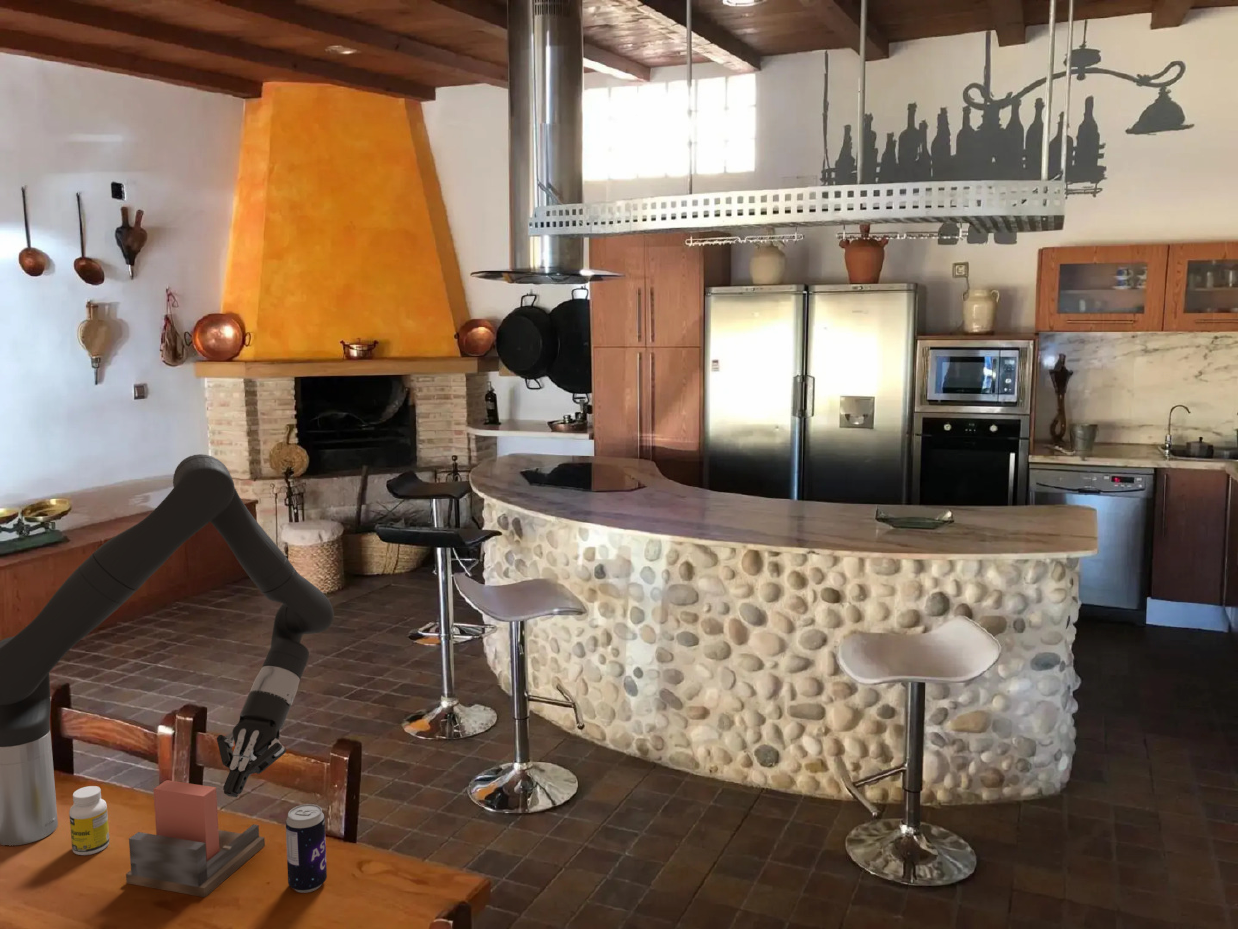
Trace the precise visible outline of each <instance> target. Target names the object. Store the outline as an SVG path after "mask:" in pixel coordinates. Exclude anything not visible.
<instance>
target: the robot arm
mask: <svg viewBox="0 0 1238 929" xmlns="http://www.w3.org/2000/svg"><path fill="white" fill-rule="evenodd" d="M172 479H173V480H172V484H173V485H172V486H173V489H172V490H170V492H169V493H168V494H167V496H166V497H165V498H164V499H163V500H162V501H161V502H160V503H159V504H158V505H157V506H156V507H155V509H153V510H152V512H151V513H149V515H147V516H146V517H144V519H142V520H141V521H140V522H138V523H136V524H134V525H133V526H131V527H129V528H127V529H126V530H124V531H122V532H120V533H118V534H117V535H115V536H114V537H112V538H110V539H109V540H108V541H106V542H105V543H103V544H102V545H101V546H99V547H98V548H97V549H96V550H94V552H92V554H91V555H90V556H89V557H88V558H87V559H85V560H84V561H83V563H81V564H80V565H79V566H78V567H76V569H75V570H74V571H73V572H72V573H71V574H70V575H69V577H67V579H66V580H65V581H64V582H63V583H62V584H61V586H59V588H58V589H57V591H56V592H55V593H54V594H53V596H52V597H51V598H50V599H49V600H48V602H47V603H46V605H45V606H44V607H43V608H42V610H41V611H40V612H39V613H38V615H36V617H35V618H34V619H33V620H31V622H30V623H29V624H27V625H26V626H25V627H24V628H23V629H22V630H20V632H18V633H17V634H16V635H14V636H11V637H10V636H9V637H6V638H3V639H2V640H0V844H1V845H0V846H5V845H9V846H11V845H12V846H13V845H14V846H21V845H27V844H31V843H34V842H38V841H39V840H42V839H45V837H48V836H50V835H51V834H53V833H54V831H56V829H57V828H58V826H59V825H58V823H59V822H58V821H59V820H58V809H57V798H56V797H57V795H56V786H55V784H56V783H55V772H54V760H53V748H52V735H51V720H50V717H51V707H52V702H51V701H52V698H51V697H52V695H51V680H50V672H51V671H52V670H53V669H54V667H55V666H56V665H57V664H58V663H59V662H60V661H61V659H62V658H63V657H64V656H65V655H66V654H67V653H68V652H69V651H70V650H71V649H72V648H73V647H74V646H75V645H76V644H78V642H80V641H81V640H82V639H84V638H85V637H86V636H87V635H89V634H90V633H91V632H92V631H94V629H96V628H97V627H99V626H100V625H101V624H102V623H103V622H104V621H105V620H107V619H108V618H109V617H110V616H111V615H112V614H113V613H115V611H117V610H118V609H119V608H120V607H121V606H122V605H123V604H124V603H126V602H127V601H128V600H129V599H130V598H131V597H132V596H133V595H134V594H135V593H136V592H138V590H139V589H140V588H141V587H142V586H143V585H144V584H145V583H146V582H147V581H148V579H150V578H151V576H152V575H154V573H155V572H157V571H158V570H159V569H160V568H161V567H162V566H163V565H164V564H165V563H166V561H168V560H169V558H170V557H171V556H172V555H173V554H174V553H175V552H176V551H177V550H178V549H179V548H180V547H181V546H182V545H183V544H184V543H186V542H187V541H188V540H189V539H190V538H191V537H192V536H194V535H195V534H196V533H198V532H199V531H200V530H201V529H203V528H204V527H205V526H207V525H208V523H211V525H213V527H214V528H215V529H216V531H217V532H218V533H219V535H221V537H222V539H223V540H224V542H226V544H227V545H228V547H229V549H230V551H232V554H233V555H234V557H235V558H236V560H237V561H238V563H239V564H240V566H241V567H242V569H243V570H244V571H245V573H246V575H247V576H248V577H249V578H250V580H251V581H252V582H253V584H255V586H256V587H257V588H258V589H259V591H260V592H261V593H262V595H263V596H264V597H265V598H266V599H267V600H269V601H270V602H276V603H279V604H281V606H279V608H278V609H277V611H276V613H275V617H274V622H273V627H272V635H271V641H270V648H269V650H268V652H267V654H266V657H265V659H264V661H263V664H262V666H261V668H260V671H259V672H258V673H257V675H256V677H255V679H254V681H253V684H252V686H251V688H250V691H249V693H248V695H247V698H246V700H245V702H244V705H243V707H242V708H241V712H240V714H239V721H238V722H237V724H236V725H235V726H234V727H233V729H232V731H231V732H229V733H227V734H226V735H224V734H219V735H218V736H217V737H216V742H217V746H218V750H219V755H220V760H221V763H222V765H224V766H225V767H226V768H228V769H229V771H228V775H227V778H226V779H225V782H224V784H223V793H224V795H226V796H227V797H231V798H238V797H239V795H240V794H241V793H243V791H244V788H245V785H246V783H247V781H248V778H249V776H251V775H253V774H258V775H259V774H262V773H263V772H264V771H265V770H266V769H268V768H269V767H270V766H272V765H273V764H274V763H276V761H277V760H279V759H280V758H281V757H282V756H284V755H285V754H286V752H287V749H286V747H285V746H284V745H282V743H281V742H280V740H279V739H280V735H281V733H280V730H281V729H283V727H284V724H285V722H286V720H287V717H288V715H289V713H290V710H291V708H292V705H293V702H294V700H295V698H296V695H297V692H298V688H299V684H300V681H301V678H302V676H303V674H304V672H305V669H306V667H307V664H308V661H309V657H310V652H309V649H308V648H307V646H305V644H302V643H301V640H302V637H303V635H311V634H320V633H323V632H325V631H327V630H328V629H329V628H331V626H332V624H333V622H334V616H335V615H334V608H333V604H332V603H331V601H330V600H329V598H328V597H327V596H326V595H325V593H324V592H323V591H321V590H320V589H319V588H318V587H317V586H315V585H314V584H313V583H311V581H309V580H308V579H307V578H305V577H303V576H302V575H301V574H300V573H298V571H297V569H296V568H295V566H294V565H292V563H291V562H290V560H289V559H288V558H287V556H286V555H285V554H284V553H283V551H282V550H281V549H280V548H279V546H278V545H277V544H276V543H275V541H274V540H273V539H272V538H271V537H270V536H269V534H267V532H266V531H265V530H264V528H262V526H261V525H260V524H259V522H258V521H257V519H255V517H254V516H253V514H252V513H251V511H249V509H248V507H247V506H246V505H245V503H244V502H243V500H242V498H241V496H240V495H239V493H238V491H237V489H236V487H235V483H234V480H233V477H232V475H231V473H230V471H229V469H228V468H227V466H226V465H225V464H224V463H223V461H220V460H219V459H218V458H216V457H214V456H212V455H209V454H203V453H201V454H198V453H197V454H193V455H190V456H188V457H186V458H184V459H182V460H181V462H179V464H178V465H177V466H176V468H175V470H174V472H173V478H172ZM233 747H234V749H233ZM12 846H11V847H12Z"/></svg>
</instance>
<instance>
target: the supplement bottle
mask: <svg viewBox="0 0 1238 929" xmlns="http://www.w3.org/2000/svg"><path fill="white" fill-rule="evenodd" d="M101 792H102V790H101V788H100V786H96V785H89V786H84V787H81V788H78V789H77V790H74V792H73V794H72V802H73V805H71V807H70V809H69V814H68V815H69V825H70V838H71V849H72V850H71V851H72V852H73V853H74V854H76V855H77V856H79V855H80V856H89V855H93V854H96V853H99V852H101V851H102V850H105V849H106V848H107V847H108V846H109V843H110V833H109V832H110V830H109V816H108V807H107V802H106V800H104V799H103V798H102V793H101Z"/></svg>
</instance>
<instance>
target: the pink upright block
mask: <svg viewBox="0 0 1238 929" xmlns="http://www.w3.org/2000/svg"><path fill="white" fill-rule="evenodd" d="M152 791H153V800H154V801H153V802H154V805H153V806H154V818H155V819H154V820H155V821H154V822H155V833H156V834H155V835H160V836H166V837H172V838H178V839H184V840H190V841H196V842H202V843H205V845H206V862H207V861H209V860H210V859H211V858H212V857H214V856H215V855H216V854H217V853H218V852H220V849H219V830H220V829H219V815H218V812H219V811H218V796H217V786H210V785H209V786H208V785H203V784H197V783H196V784H194V783H188V782H182V781H176V780H168V779H166V780H165V781H163V782H161V783H160V784H159V785H157V786H156V787H154V788H153V790H152Z"/></svg>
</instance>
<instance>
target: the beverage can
mask: <svg viewBox="0 0 1238 929" xmlns="http://www.w3.org/2000/svg"><path fill="white" fill-rule="evenodd" d="M326 840H327V839H326V818H325V815H324V813H323V810H322V807H320V806H319V805H317V804H313V803H306V804H300V805H297V806H295V807H293V808H291V809H290V810H289V811H288V813H287V818H286V820H285V841H286V844H285V845H286V859H287V860H286V863H287V864H286V867H287V884H288V886H289V887H290V888H291V889H293V890H294V891H296V892H297V893H302V894H303V893H305V894H306V893H311V892H314V891H316V890H317V889H319V888H321V886H322V885H323V884H324V883H325V882H326V880H327V878H328V873H327V872H328V871H327V848H326V847H327V846H326V844H327V843H326Z"/></svg>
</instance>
